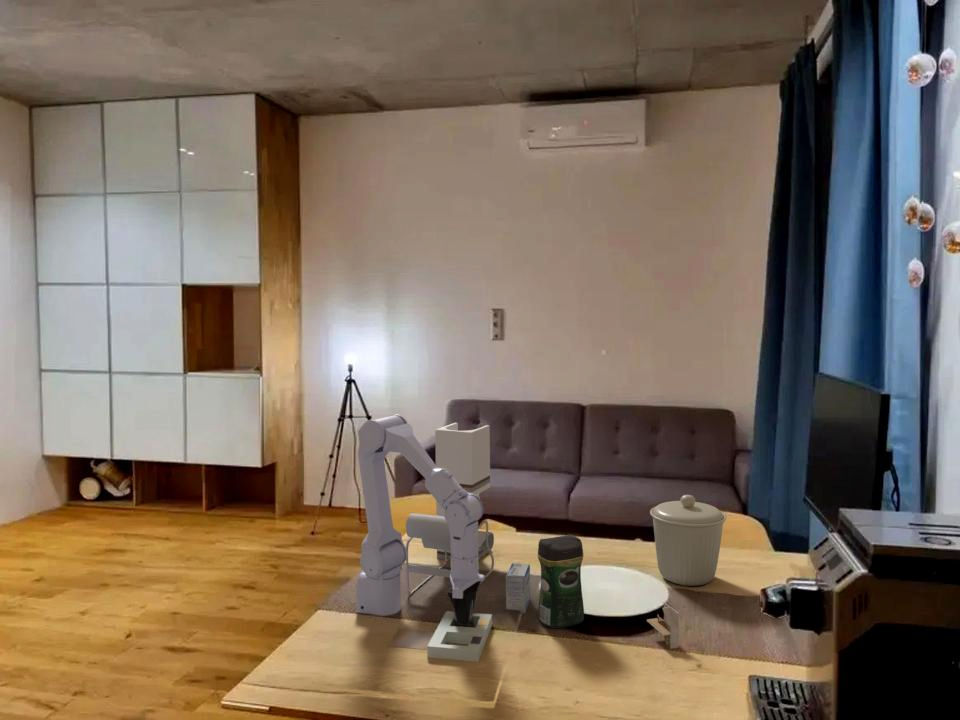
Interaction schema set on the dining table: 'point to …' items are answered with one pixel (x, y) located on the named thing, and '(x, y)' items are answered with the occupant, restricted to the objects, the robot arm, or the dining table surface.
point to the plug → (470, 622)
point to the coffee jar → (560, 581)
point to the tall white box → (464, 462)
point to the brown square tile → (411, 639)
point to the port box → (460, 638)
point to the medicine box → (518, 587)
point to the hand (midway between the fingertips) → (465, 618)
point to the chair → (439, 542)
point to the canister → (687, 540)
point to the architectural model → (668, 626)
